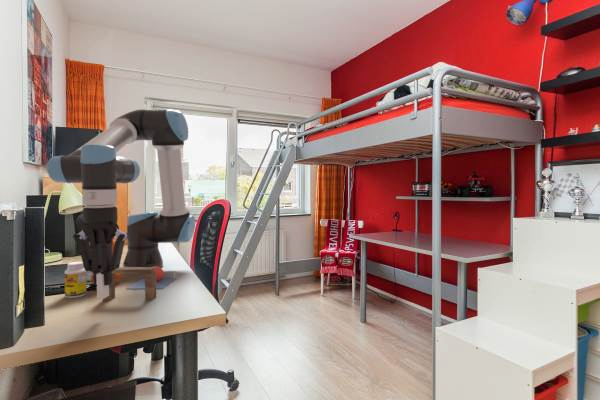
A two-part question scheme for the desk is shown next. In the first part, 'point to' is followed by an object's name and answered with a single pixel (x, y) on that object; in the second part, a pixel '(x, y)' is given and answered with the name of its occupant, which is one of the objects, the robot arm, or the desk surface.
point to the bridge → (148, 271)
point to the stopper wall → (168, 274)
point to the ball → (158, 273)
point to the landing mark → (159, 284)
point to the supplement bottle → (75, 280)
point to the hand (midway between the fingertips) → (103, 297)
